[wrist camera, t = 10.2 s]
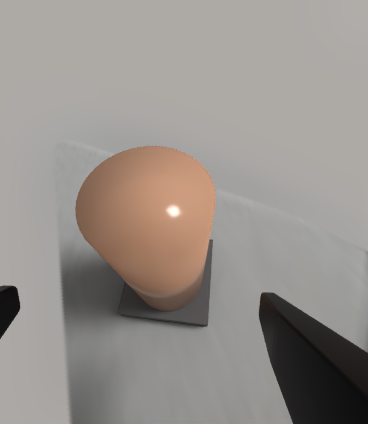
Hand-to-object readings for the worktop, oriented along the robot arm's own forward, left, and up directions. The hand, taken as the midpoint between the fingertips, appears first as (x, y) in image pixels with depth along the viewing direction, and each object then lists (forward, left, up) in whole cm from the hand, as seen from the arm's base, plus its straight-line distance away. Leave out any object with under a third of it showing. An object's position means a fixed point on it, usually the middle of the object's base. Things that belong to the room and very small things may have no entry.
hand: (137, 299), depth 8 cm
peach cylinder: (+4, 0, -12) cm, 12 cm away
